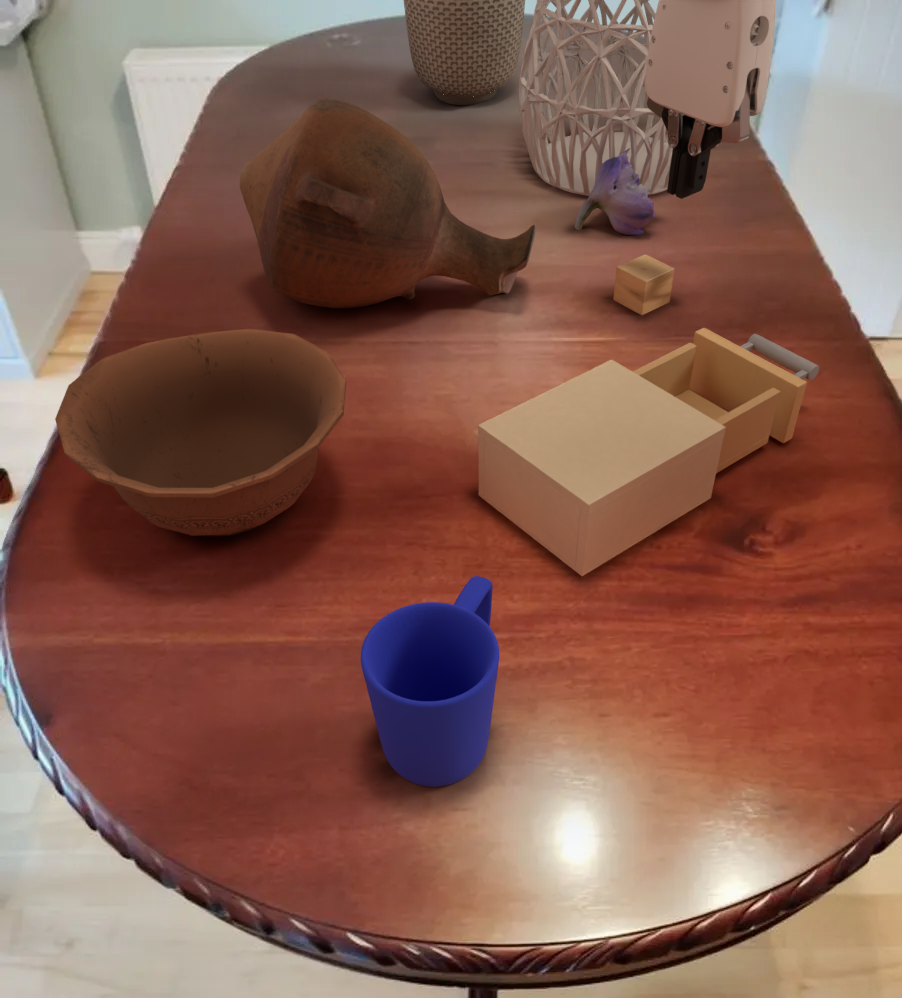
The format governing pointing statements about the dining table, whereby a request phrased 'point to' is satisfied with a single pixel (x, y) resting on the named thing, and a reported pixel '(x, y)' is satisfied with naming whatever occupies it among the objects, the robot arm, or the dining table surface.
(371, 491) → the dining table surface
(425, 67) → the planter
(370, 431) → the dining table surface
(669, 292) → the block
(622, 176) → the flower
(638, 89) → the vase
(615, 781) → the dining table surface
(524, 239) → the jug
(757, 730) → the dining table surface
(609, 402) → the cabinet
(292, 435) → the bowl
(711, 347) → the drawer
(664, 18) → the robot arm
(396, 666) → the mug
